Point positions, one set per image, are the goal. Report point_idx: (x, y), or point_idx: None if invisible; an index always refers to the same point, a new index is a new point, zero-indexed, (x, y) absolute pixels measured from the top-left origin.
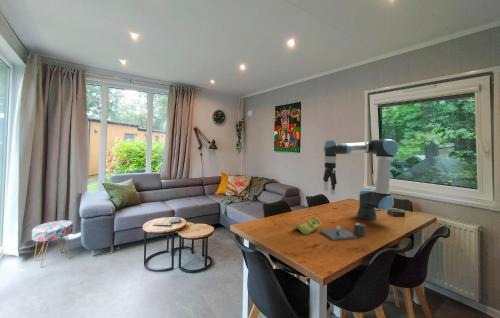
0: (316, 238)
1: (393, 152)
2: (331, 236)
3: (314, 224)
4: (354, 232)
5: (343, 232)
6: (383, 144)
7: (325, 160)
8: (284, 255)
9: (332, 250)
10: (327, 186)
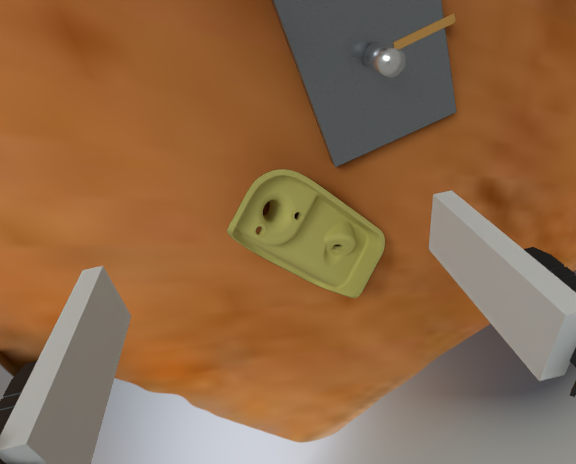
0: (418, 187)
1: None
2: (432, 114)
3: (293, 205)
4: None
5: (363, 10)
6: None
7: None
8: None
9: (553, 128)
10: (81, 335)
